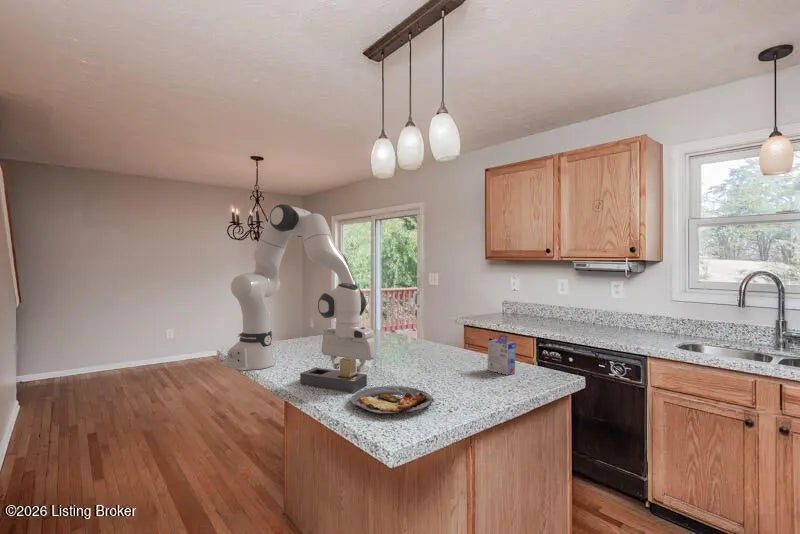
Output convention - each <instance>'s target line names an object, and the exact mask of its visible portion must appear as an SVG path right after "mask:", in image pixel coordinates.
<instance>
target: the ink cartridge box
mask: <svg viewBox="0 0 800 534" xmlns="http://www.w3.org/2000/svg"><path fill="white" fill-rule="evenodd" d="M507 340H508V335H505V334H504V335H503V334H499V337H498V339H491V340H488V341H487V342H488V343H487V345H488V346H487V371H489V372H494V373H497V372H498V374H501V373H502V375H505V374H506V375H505V376H509V375H508V374H510V375H512V374H511V373H515V374H516V346H517V345H516V342H514V341H513V342H512V341H507Z"/></svg>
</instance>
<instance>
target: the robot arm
mask: <svg viewBox="0 0 800 534" xmlns="http://www.w3.org/2000/svg"><path fill="white" fill-rule="evenodd" d="M293 236H297V237H299V238H301V239H302V243H303V247H304V250H305V254H306V255H307V258H308V259H309V260H310V261H311V262H313V263H314V264H317V265H319V266H323V267H325V268H327V269H330V270H331V271H333V272H334V273H335V274H336V275H337V277H338V279H339V282H340V283H338V284H337V286H336V287H335V288H334V289H332V290H330V291H327V292H323V293H322V294H321V295H320V296H319V299H318V302H317V310H318V312H319V314H320V315H321V317H323V318H325V319H329V320H330V319H332V320H333V319H335V322H334V323H335V324H334V326H335V327H334V328H326V329H325V330H323V332H322V342H321V354H322V355H323V356H329V357H330V360H331V362H332V364H333V366H332V367H333V370H339V369H340V362H339V361H338V360H337V358H338V357H339V358H354V359H356V360H359V361H358V362H359V365H358V366H357V365H356V373H362V372H363V371H364V365H365V364H366V362H367V361H372V360H373V359H375V358H376V353H377V351H376V349H377V347H376V340H375V338H374V337H373V336H374V334H375V331H374V330H373V329H371V328H369V327H367V326H365V325H363V324H362V320H361V315H363V313H364V312H365V311H366V307H367V299H366V297H365V294H364V293H363V292H362V290H361V288H360V286H359V285H358V282H357V280H356V278H355V276H354V273H353V271H352V269H351V266H350V264H349V262H348V259H347V257H346V256H345V254H344V253H342V252H341V251H340V250H339V248H338V247H337V245H336V243H335V241H334V240H333V236H332V233H331V229H330V226H329V225H328V222H327V220H326V218H325V217H324V215H322V214H321V213H317V212H316V213H315V212H312V211H309V210H306V209H304V208H301V207H296V206H292V205H290V204H282V203H281V204H276V205H275V206H274V207H273V208H272V209H271V211H270V214H269V219H268V221H267V222H266V223H265V226H264V228H263V230H262V232H261V234H260V236H259V239H258V242H257V244H256V247H255V250H254V252H253V259H254V260H255V261H254V262H255V268H254V271H253V272H244V273H241V274H240V275H237V276H235V277H234V278H233V279H232V281H231V284H230V291H231V293H232V295H233V296H234V297H235V298H236V299H237V301H238V303H239V307H240V309H241V315H242V332H241V333H237V338H239V341H237V343H235V344H234V345H233V346H232V347H230V348H229V349H228V351H227V353H226V360H223V361H221V362H220V366H221V367H225V368H230V369H233V370H236V371H240V372H241V371H248V370H249V371H250V370H251V371H252V370H261V369H266V368H271V367H272V366H274V365H275V364H276V363H275V359H274V356H273V355H274V354H273V347H272V340H273V332H272V329H271V327H272V325H271V323H272V321H271V318H272V317H271V316H272V314H271V311H270V310H269V309H268V308H267V305H266V302H265V298H270V297H271V296H274V295H275V294H277V293H278V292H279V290H280V288H281V281H280V278H279V272H280V265H281V262H282V259H283V257H284V254H285V252H286V248H287V245H288V243H289V240H290V239H291V237H293Z"/></svg>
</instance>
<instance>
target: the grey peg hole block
mask: <svg viewBox="0 0 800 534" xmlns="http://www.w3.org/2000/svg"><path fill="white" fill-rule="evenodd" d="M299 373H300V374H299V375H300V377H299V378H300V379H299V382H300V384H302V385H301V386H306V385H308V386H307V387H312V386H313V387H314V388H318V387H319V388H318V389H324V388H325V389H326V390H330V389H331V390H332V391H336V392H337V391H339V392H344V393H350V394H356V393H358V392H359V391H361V390H362V389H364V388H365V387H367V386H368V374H367V373H361V372H356V377H354V378H352V379H346V378H340V370H339V369H330V368H323V367H322V368H321V367H313V368H311V369H307V370H305V371H303V372H299ZM300 384H299V385H300ZM313 387H312V388H313ZM325 389H324V390H325Z"/></svg>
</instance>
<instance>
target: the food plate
mask: <svg viewBox="0 0 800 534" xmlns="http://www.w3.org/2000/svg"><path fill="white" fill-rule="evenodd" d="M396 395H398V396H396ZM401 395H402V396H403V397H402V396H401ZM350 401H351V404H352V405H354V406H358V407H360V408H362V409H363V410H367V411H369V412H371V413H376V414H381V415H402V414H411V413H413V412H417V411H419V410H423V409H427V408H429V406H432V403H433V402H434V401H435V400H434V398H433V396H432V395H431V394H430V393H428V392H426V391H424V390H421V389H418V388H414V387H409V386H404V385H402V386H401V385H400V386H399V385H395V386H389V385H387V386H386V385H384V386H375V387H369V388H366V389H363V390H358V391H357V392H355V393H354V394H353V395H352V396H351V399H350Z"/></svg>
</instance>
